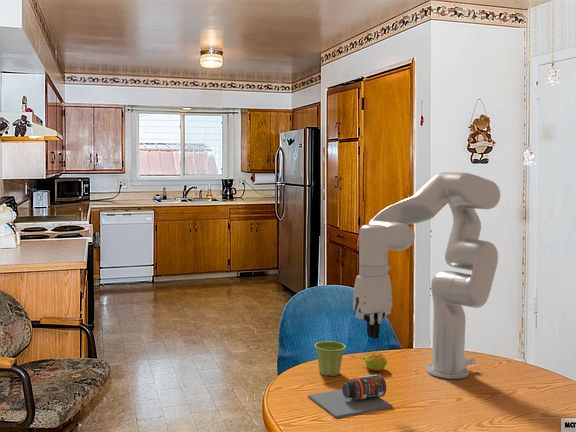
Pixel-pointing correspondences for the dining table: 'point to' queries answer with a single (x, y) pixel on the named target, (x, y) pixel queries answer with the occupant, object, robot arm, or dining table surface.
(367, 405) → the mat
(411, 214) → the robot arm
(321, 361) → the plant pot
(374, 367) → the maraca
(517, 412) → the dining table surface
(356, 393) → the supplement bottle
